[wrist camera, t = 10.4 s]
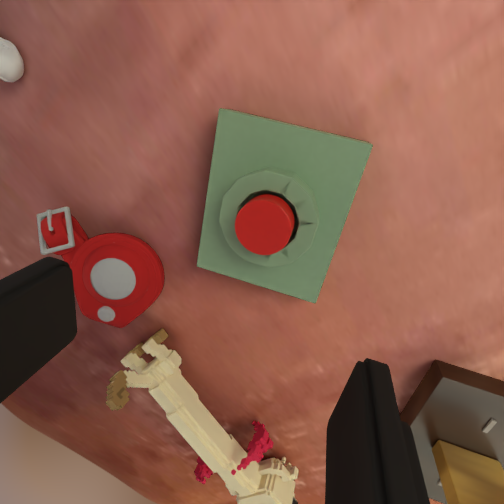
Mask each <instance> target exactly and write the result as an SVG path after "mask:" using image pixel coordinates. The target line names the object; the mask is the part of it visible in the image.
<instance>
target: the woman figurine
mask: <svg viewBox="0 0 504 504" xmlns="http://www.w3.org/2000/svg"><path fill="white" fill-rule="evenodd" d="M23 73H24V63H23V58H22V57H21V55H20V53H19V52H18V50H17V48H16V46H15V45H14V44H13V43H11V42H10V41H8V40H5V39H3V38H1V37H0V79H2V80H3V81H5V82H15V81H17V80H18V79H20V78H21V77H22V76H23Z"/></svg>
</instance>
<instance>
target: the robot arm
mask: <svg viewBox="0 0 504 504" xmlns="http://www.w3.org/2000/svg"><path fill="white" fill-rule="evenodd" d="M76 333H77V323H76V310H75V298H74V285H73V272H72V269H71V268H70V266H69V264H68V263H67V262H65V261H62V260H59V259H56V258H53V257H46V258H43V259H41V260H39V261H37V262H35V263H33V264H31V265H29V266H27V267H25V268H23V269H21V270H19V271H17V272H15V273H13V274H11V275H9V276H7V277H5V278H3V279H1V280H0V403H1V402H2V401H4V400H5V399H6V398H7V397H8V396H9V395H10V394H12V393H13V392H14V391H15V390H16V389H17V388H18V387H20V386H21V385H22V384H23V383H24V382H25V381H27V380H28V379H29V378H30V377H31V376H32V375H33V374H35V373H36V372H37V371H38V370H39V369H40V368H41V367H43V366H44V365H45V364H46V363H47V362H48V361H50V360H51V359H52V358H53V357H54V356H55V355H56V354H58V353H59V352H60V351H61V350H62V349H63V348H64V347H66V346H67V345H68V344H69V343H70V342H71V341H72V340H73V339H74V338H75V336H76ZM325 504H430V501H429V497H428V493H427V489H426V485H425V481H424V477H423V473H422V469H421V465H420V461H419V457H418V453H417V449H416V445H415V441H414V437H413V433H412V430H411V427H410V426H409V424H408V423H407V422H404V421H401V420H400V415H399V411H398V406H397V402H396V397H395V393H394V388H393V383H392V379H391V374H390V370H389V367H388V365H387V364H384V363H381V362H378V361H374V360H371V359H368V358H366V359H365V360H364V362H361V361H358V362H357V363H356V365H355V367H354V369H353V371H352V374H351V376H350V378H349V380H348V382H347V384H346V386H345V388H344V390H343V392H342V394H341V396H340V398H339V400H338V402H337V405H336V407H335V409H334V411H333V413H332V415H331V417H330V419H329V422H328V426H327V445H326V492H325Z"/></svg>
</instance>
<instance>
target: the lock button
mask: <svg viewBox="0 0 504 504" xmlns="http://www.w3.org/2000/svg"><path fill="white" fill-rule="evenodd" d="M293 228H294V215H293V212H292V210H291V208H290V206H289V205H288V204H287V203H286V202H285V201H284V200H283V199H281V198H280V197H278V196H275V195H271V194H263V195H258V196H256V197H254V198H252V199H251V200H250V201H249V202H248V203H247V204H245V205H244V206H243V207H242V208H241V210H240V211H239V212H238V214H237V216H236V220H235V232H236V235H237V238H238V240H239V241H240V243H241V244H242V245H243V246H244V247H245V248H246V249H247V250H249V251H251V252H253V253H255V254H259V255H271V254H274V253H277V252H279V251H280V250H282V249H283V248H284V247H285V246H286V244H287V243H288V241H289V239H290V236H291V234H292V231H293Z"/></svg>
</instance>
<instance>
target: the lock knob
mask: <svg viewBox="0 0 504 504" xmlns="http://www.w3.org/2000/svg"><path fill="white" fill-rule="evenodd" d="M432 453H433V456H434V460H435V463H436V466H437V470H438V473H439V477H440V480H441V483H442V487H443V490H444V494H445V497H446V500H447V504H504V470H503V468H502V465H501V463H500V462H499V461H497V460H494V459H491V458H488V457H486V456H483V455H480V454H477V453H474V452H472V451H469V450H466V449H463V448H461V447H458V446H455V445H452V444H450V443H447V442H444V441H441V440H438V441H437V442H436V444H435V445H434V446H433V448H432Z"/></svg>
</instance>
